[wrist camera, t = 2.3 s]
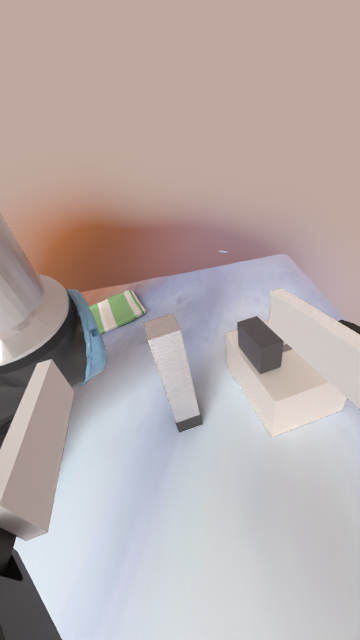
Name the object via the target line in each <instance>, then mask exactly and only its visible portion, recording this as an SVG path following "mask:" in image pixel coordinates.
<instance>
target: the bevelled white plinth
mask: <svg viewBox="0 0 360 640" xmlns="http://www.w3.org/2000/svg"><path fill="white" fill-rule="evenodd" d="M263 322H264V323H265V324H266V325H267V326H268V327H269V320H267V321H263ZM274 333H275V332H274ZM225 346H226V357H227V367H228V369H229V370H230V372H231V374H232V375H233V377H234V378H235V380H236V382H237V383H238V385H239V386H240V388H241V390H242V391H243V393H244V394H245V396H246V397H247V399H248V401H249V402H250V404H251V405H252V407H253V409H254V410H255V412H256V413H257V415H258V417H259V418H260V420H261V421H262V423H263V425H264V426H265V428H266V429H267V431H268V433H269V434H270V436H271V437H275V436H278V435H280V434H283V433H285V432H288V431H290V430H293V429H296V428H298V427H301V426H303V425H306V424H309V423H311V422H314V421H316V420H319V419H321V418H324V417H327V416H329V415H332V414H334V413H337V412H340V411H342V410H343V407H344V405H345V402H346V400H347V397H346V396H344V395H343V394H342V393H341V392H340V391H339V390H338V389H337V388H336V387H334V386H333V385H332V384H331V383H330V382H329V381H328V380H327V379H326V378H324V377H323V376H322V375H321V374H320V373H319V372H318V371H317V370H316V369H314V368H313V367H312V366H311V365H310V364H309V363H308V362H307V361H306V360H304V359H303V358H302V357H301V356H300V355H299V354H298V353H297V352H296V351H294V350H293V349H292V348H291V347H290V346H289V345H288V344H287V343H286V342H284V343H283V352H282V362H281V367H280V368H277V369H274V370H271V371H268V372H265V373H262V374H260V373H259V372H258V371H257V370H256V368H255V367H254V366H253V364H252V363H251V362H250V361H249V359H248V358H247V357H246V355H245V354H244V353H243V352H242V350H241V349H240V348H239V346H238V330H235V331H232V332H229V333H226V334H225Z"/></svg>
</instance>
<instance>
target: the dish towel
mask: <svg viewBox="0 0 360 640" xmlns="http://www.w3.org/2000/svg"><path fill="white" fill-rule="evenodd" d="M89 308H90V310H91V312H92V314H93V316H94V318H95V321H96V324H97V327H98V331H99V332H100V334H104V333H106V332H108V331H111V330H113V329H116V328H118V327H120V326H123V325H125V324H127V323H129V322H132V321H133V320H135V319H137V318H138V317H140V316H142V315H144V314H145V313H146V310H145V308H144V307H143V306H142V304H141V303H140V301H139V299H138V298H137V296H136V295H135V293H134V292H133V291H132V290H127V291H125V292H122V293H120V294H117V295H115V296H113V297H110V298H108V299H106V300H104V301H102V302H99V303H97V304H94V305H92V306H90V307H89Z"/></svg>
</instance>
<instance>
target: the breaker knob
mask: <svg viewBox="0 0 360 640" xmlns="http://www.w3.org/2000/svg"><path fill="white" fill-rule="evenodd" d="M237 326H238V346H239V348H240V349H241V350H242V352H243V353H244V354H245V355H246V357H247V358H248V359H249V361H250V362H251V363H252V364H253V366H254V367H255V368H256V370H257V371H258V372H259V373H260V374H262V373H265V372H268V371H271V370H274V369H277V368H280V367H281V362H282V352H283V343H284V341H283V340H282V339H281V338H280V337H279V336H278V335H277V334H276V333H274V332H273V331H272V330H271V329H270V328H269V327H268V326H267V325H266V324H265V323H264V322H262V321H261V320H260V319H259V318H258V317H257V316H256V317H253V318H250V319H247V320H243V321H240V322H237Z"/></svg>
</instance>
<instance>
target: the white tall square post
mask: <svg viewBox="0 0 360 640" xmlns="http://www.w3.org/2000/svg"><path fill="white" fill-rule="evenodd" d="M144 326H145V330H146V335H147V340H148V343H149V346H150V349H151V351H152V354H153V357H154V360H155V363H156V366H157V369H158V372H159V375H160V377H161V380H162V383H163V386H164V389H165V392H166V395H167V398H168V401H169V404H170V406H171V409H172V412H173V415H174V418H175V422H176V425H177V428H178V431H179V432H182V431H185V430H188V429H190V428H193V427H196V426H199V425H201V424H202V420H201V415H200V412H199V408H198V404H197V399H196V395H195V391H194V386H193V382H192V377H191V373H190V369H189V364H188V360H187V356H186V351H185V347H184V342H183V338H182V334H181V330H180V328H179V325H178V323H177V321H176V319H175V317H174V314H170V315H167V316H163V317H160V318H157V319H153V320H150V321H147V322H144Z"/></svg>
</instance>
